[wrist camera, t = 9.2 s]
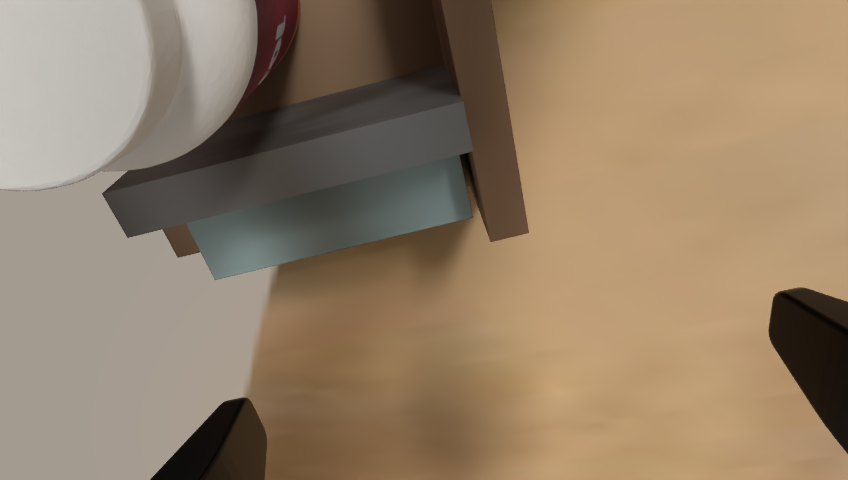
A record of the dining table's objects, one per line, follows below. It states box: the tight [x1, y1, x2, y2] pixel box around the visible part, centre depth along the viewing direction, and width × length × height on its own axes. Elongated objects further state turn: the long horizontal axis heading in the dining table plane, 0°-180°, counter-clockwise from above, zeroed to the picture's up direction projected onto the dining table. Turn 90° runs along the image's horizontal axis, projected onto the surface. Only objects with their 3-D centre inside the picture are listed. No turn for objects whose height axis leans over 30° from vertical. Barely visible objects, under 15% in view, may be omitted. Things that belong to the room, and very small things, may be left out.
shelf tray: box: [102, 0, 529, 280], centre depth 16 cm, size 13×14×6 cm
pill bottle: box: [0, 0, 301, 191], centre depth 12 cm, size 6×6×11 cm
